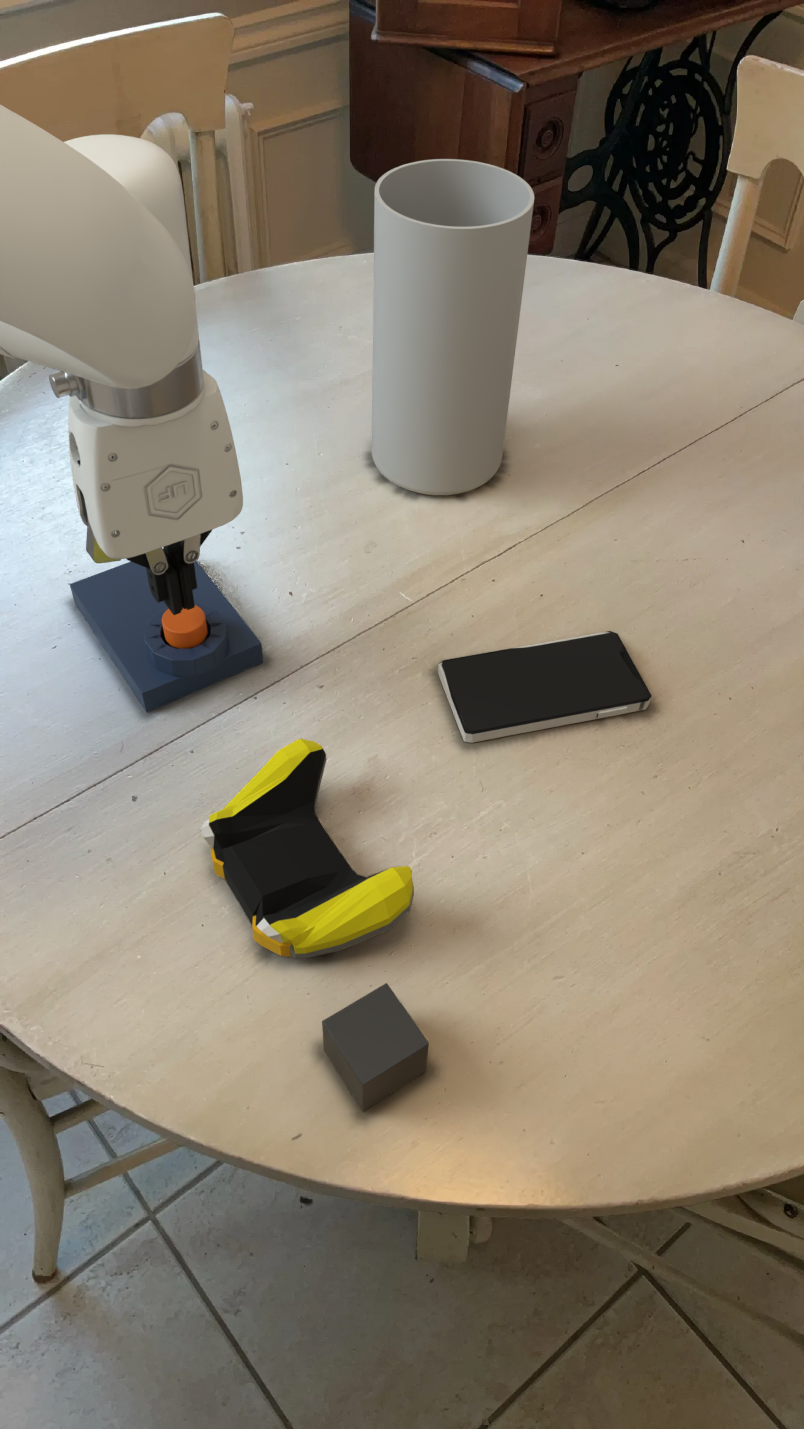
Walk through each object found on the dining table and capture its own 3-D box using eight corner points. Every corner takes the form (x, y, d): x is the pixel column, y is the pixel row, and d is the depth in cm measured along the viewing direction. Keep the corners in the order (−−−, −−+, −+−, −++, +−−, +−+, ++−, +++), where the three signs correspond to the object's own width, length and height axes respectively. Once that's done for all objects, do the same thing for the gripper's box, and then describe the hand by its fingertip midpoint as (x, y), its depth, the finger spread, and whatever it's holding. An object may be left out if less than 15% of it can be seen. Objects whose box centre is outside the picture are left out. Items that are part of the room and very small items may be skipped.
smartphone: (436, 659, 82) (615, 628, 85) (436, 670, 83) (612, 638, 86) (466, 736, 77) (655, 700, 80) (465, 747, 78) (651, 711, 81)
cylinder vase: (528, 466, 101) (567, 200, 82) (429, 516, 95) (447, 244, 76) (442, 407, 107) (460, 146, 88) (345, 451, 102) (342, 183, 83)
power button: (214, 639, 79) (212, 622, 78) (176, 655, 78) (173, 638, 77) (196, 614, 81) (193, 597, 80) (157, 629, 80) (154, 612, 79)
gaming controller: (313, 770, 76) (186, 829, 73) (310, 721, 72) (175, 780, 68) (425, 928, 68) (288, 1003, 64) (429, 883, 64) (283, 961, 60)
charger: (362, 1112, 60) (362, 1085, 57) (323, 1049, 63) (321, 1021, 60) (428, 1069, 62) (432, 1041, 59) (388, 1010, 64) (389, 980, 61)
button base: (266, 666, 83) (263, 630, 80) (149, 717, 79) (141, 681, 76) (185, 561, 90) (179, 525, 87) (74, 603, 87) (64, 567, 84)
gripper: (40, 437, 58) (98, 670, 71) (279, 367, 64) (291, 594, 77) (-7, 374, 62) (57, 606, 75) (222, 313, 68) (243, 539, 81)
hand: (175, 600), depth 76 cm, fingers closed
